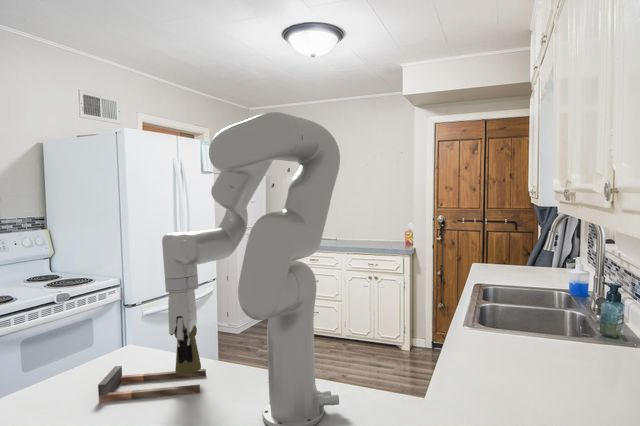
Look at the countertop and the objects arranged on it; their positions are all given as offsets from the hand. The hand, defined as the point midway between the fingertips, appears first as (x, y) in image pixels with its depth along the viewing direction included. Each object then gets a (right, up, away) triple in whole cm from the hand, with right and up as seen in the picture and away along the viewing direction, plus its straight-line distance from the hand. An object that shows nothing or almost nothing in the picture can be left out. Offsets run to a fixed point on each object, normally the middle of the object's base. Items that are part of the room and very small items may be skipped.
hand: (187, 358), depth 99 cm
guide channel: (-8, -7, 0) cm, 10 cm away
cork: (0, -3, 0) cm, 3 cm away
